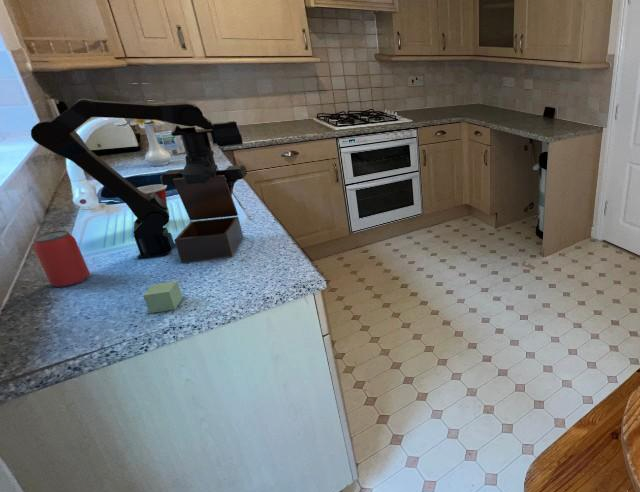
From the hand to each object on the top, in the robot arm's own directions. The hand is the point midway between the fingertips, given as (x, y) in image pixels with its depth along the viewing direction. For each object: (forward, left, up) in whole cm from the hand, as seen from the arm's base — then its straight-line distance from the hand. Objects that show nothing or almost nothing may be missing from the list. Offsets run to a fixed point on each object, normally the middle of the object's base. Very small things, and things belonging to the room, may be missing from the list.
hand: (213, 203), depth 115 cm
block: (-2, -35, -11) cm, 37 cm away
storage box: (0, -8, -11) cm, 13 cm away
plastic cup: (-22, +17, -11) cm, 30 cm away
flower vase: (-48, +98, -11) cm, 110 cm away
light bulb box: (-50, +120, -11) cm, 130 cm away
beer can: (-27, -16, -11) cm, 33 cm away
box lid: (0, -4, +3) cm, 5 cm away
